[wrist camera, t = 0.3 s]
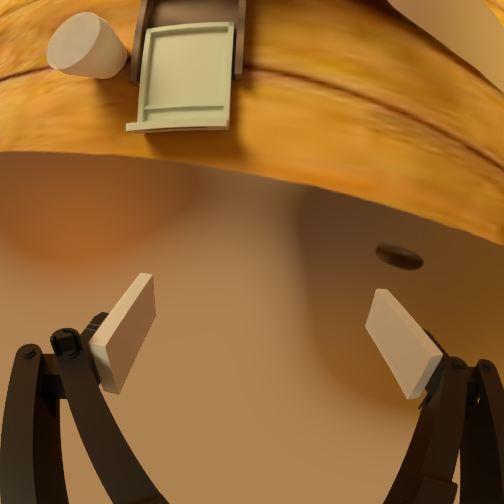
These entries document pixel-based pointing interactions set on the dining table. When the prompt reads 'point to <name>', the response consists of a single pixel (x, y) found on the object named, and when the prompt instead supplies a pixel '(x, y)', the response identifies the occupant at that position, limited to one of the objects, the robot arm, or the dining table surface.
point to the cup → (86, 47)
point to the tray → (185, 78)
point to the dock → (187, 12)
